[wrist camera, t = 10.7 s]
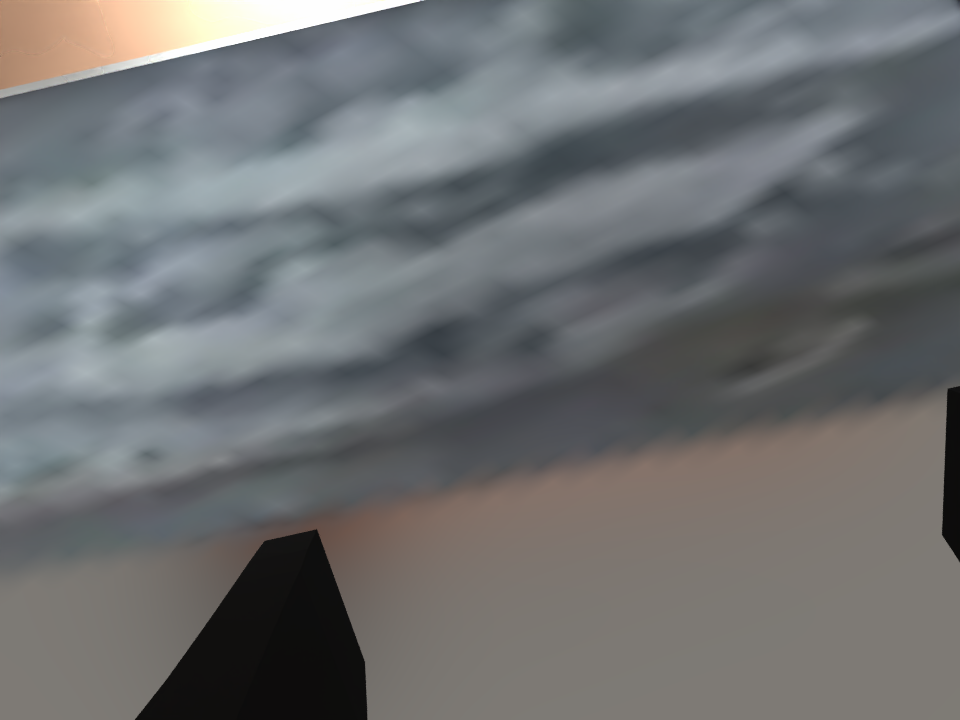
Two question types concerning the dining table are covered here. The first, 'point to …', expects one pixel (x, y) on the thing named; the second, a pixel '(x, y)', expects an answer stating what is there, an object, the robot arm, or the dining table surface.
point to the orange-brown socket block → (141, 32)
